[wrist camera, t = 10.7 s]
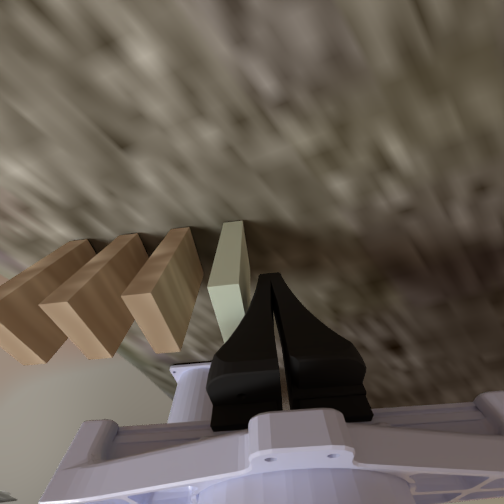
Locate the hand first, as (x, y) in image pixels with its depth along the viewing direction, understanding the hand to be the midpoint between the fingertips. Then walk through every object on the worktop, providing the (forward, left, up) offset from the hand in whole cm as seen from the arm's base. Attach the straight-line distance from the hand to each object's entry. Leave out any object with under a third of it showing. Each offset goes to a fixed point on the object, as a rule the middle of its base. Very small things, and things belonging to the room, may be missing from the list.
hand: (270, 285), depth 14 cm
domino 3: (0, +7, -5) cm, 9 cm away
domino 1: (0, +16, -5) cm, 17 cm away
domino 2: (0, +11, -5) cm, 13 cm away
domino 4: (0, +2, -5) cm, 6 cm away
